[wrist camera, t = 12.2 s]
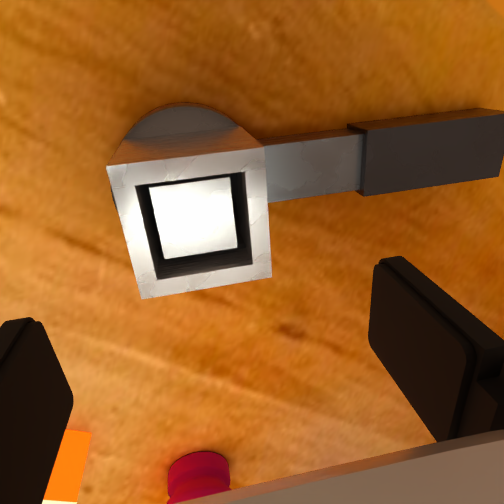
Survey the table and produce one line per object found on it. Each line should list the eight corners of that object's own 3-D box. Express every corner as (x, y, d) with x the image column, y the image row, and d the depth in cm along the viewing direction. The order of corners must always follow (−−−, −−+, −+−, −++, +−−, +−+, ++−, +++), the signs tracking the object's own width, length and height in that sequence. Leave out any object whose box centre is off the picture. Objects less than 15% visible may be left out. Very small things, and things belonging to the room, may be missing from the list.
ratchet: (486, 70, 25) (610, 71, 18) (461, 196, 29) (554, 237, 22) (100, 110, 21) (65, 131, 14) (135, 246, 26) (121, 313, 19)
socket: (240, 126, 20) (264, 147, 15) (249, 229, 23) (271, 277, 18) (123, 139, 20) (105, 166, 14) (148, 245, 23) (141, 299, 17)
